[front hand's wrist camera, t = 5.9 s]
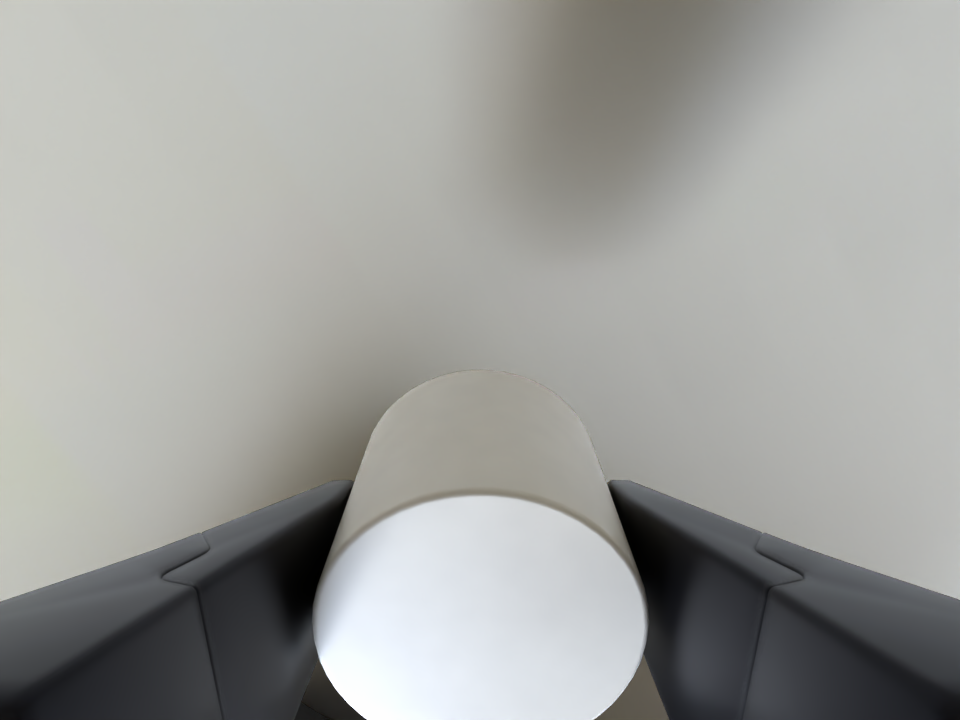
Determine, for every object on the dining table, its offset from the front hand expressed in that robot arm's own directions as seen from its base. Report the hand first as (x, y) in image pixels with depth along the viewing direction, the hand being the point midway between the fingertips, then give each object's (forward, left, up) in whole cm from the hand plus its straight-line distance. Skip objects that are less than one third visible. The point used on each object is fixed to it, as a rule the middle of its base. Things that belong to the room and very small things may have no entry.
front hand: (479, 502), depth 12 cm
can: (0, 0, -1) cm, 1 cm away
